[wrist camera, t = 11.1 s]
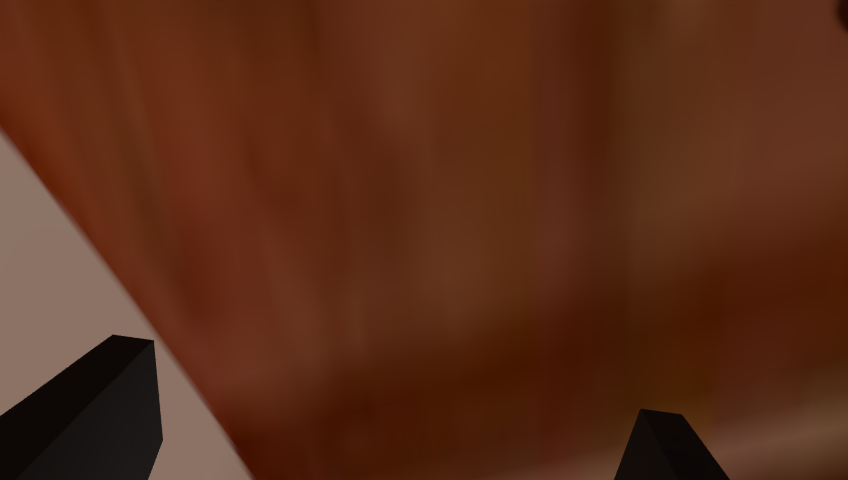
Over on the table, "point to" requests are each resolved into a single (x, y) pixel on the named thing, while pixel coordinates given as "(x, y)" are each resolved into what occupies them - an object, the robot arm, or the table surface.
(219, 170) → the table surface
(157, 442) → the robot arm
